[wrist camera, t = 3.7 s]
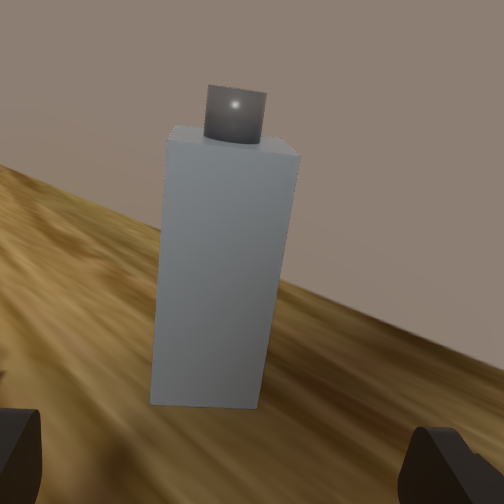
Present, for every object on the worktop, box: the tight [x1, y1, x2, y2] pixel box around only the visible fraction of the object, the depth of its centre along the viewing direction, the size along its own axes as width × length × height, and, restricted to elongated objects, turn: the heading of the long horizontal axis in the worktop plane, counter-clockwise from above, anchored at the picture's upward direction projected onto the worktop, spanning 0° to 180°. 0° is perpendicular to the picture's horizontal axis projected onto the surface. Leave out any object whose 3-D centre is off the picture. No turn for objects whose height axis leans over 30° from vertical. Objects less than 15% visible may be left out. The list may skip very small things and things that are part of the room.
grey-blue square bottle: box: [150, 85, 301, 409], centre depth 21 cm, size 5×5×14 cm
